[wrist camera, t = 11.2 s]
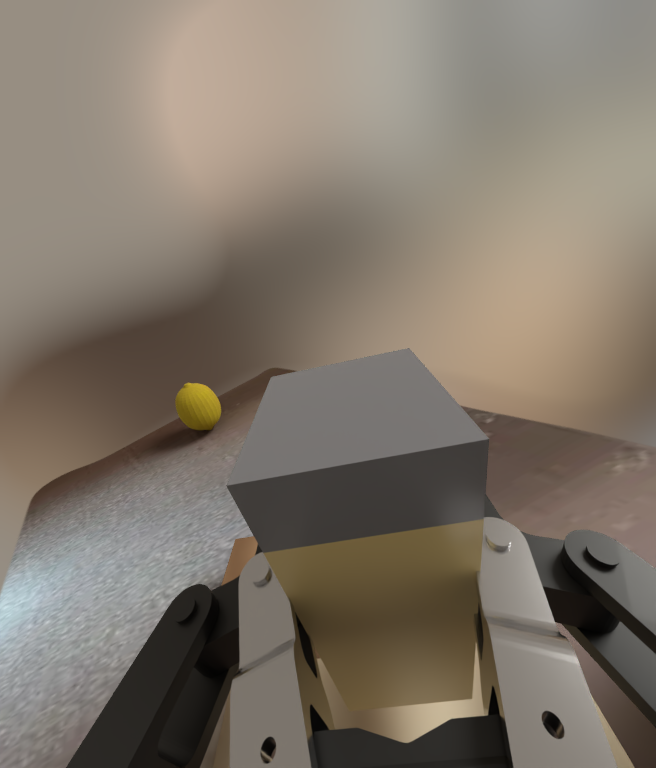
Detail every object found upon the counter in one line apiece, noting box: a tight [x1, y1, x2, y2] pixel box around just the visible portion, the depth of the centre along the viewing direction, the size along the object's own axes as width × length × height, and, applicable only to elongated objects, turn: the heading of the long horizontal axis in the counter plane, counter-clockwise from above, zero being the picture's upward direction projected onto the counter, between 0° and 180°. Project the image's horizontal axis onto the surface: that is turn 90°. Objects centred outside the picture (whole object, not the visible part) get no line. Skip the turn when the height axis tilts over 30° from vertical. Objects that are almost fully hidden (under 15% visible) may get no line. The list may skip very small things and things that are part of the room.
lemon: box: [175, 383, 221, 430], centre depth 38 cm, size 6×6×8 cm
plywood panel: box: [213, 644, 635, 768], centre depth 15 cm, size 18×12×1 cm, turn 91°
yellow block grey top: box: [227, 348, 489, 711], centre depth 9 cm, size 4×4×12 cm
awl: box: [200, 536, 258, 768], centre depth 14 cm, size 2×12×2 cm, turn 1°
